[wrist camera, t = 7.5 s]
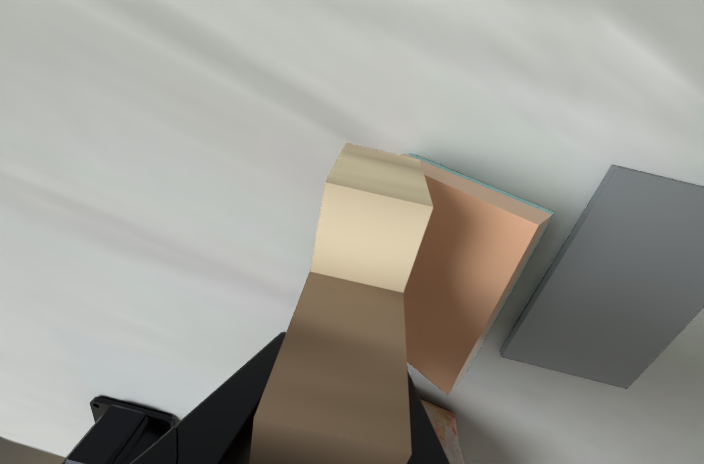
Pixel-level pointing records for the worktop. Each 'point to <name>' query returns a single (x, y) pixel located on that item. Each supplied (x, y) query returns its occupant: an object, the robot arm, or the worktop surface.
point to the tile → (464, 270)
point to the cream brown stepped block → (350, 323)
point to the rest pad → (618, 281)
